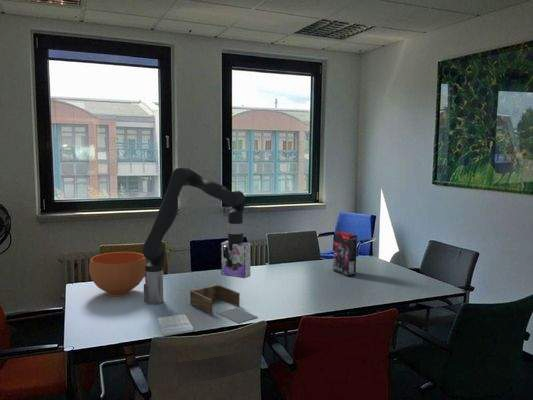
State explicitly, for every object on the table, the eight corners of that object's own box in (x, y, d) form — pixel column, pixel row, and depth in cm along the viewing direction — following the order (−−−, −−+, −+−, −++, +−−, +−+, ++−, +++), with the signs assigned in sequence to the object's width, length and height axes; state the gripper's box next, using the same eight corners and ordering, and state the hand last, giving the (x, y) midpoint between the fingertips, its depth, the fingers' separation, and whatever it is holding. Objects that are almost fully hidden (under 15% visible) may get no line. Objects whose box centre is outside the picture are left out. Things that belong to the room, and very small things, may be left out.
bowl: (156, 288, 262) (156, 253, 259) (127, 304, 233) (126, 266, 231) (111, 283, 270) (111, 250, 267) (78, 298, 241) (77, 261, 239)
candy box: (220, 275, 220) (220, 242, 219) (227, 272, 225) (226, 240, 224) (245, 278, 214) (244, 244, 212) (251, 275, 219) (250, 242, 217)
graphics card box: (332, 271, 306) (333, 231, 303) (340, 269, 309) (341, 231, 306) (348, 277, 291) (349, 236, 288) (356, 276, 294) (358, 235, 291)
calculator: (184, 317, 218) (184, 313, 218) (194, 332, 199) (194, 328, 199) (157, 320, 213) (157, 316, 213) (164, 336, 194) (164, 332, 194)
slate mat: (238, 323, 209) (238, 322, 209) (217, 313, 222) (217, 312, 222) (257, 317, 217) (257, 316, 217) (236, 308, 230) (236, 307, 230)
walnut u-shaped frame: (210, 313, 221) (210, 300, 221) (190, 303, 236) (190, 290, 235) (239, 306, 233) (239, 293, 232) (218, 296, 247) (218, 284, 247)
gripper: (228, 234, 210) (228, 269, 212) (251, 231, 220) (252, 264, 221) (219, 232, 216) (219, 266, 217) (242, 229, 225) (242, 261, 227)
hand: (235, 265), depth 219 cm, fingers closed on candy box, 7 cm apart
